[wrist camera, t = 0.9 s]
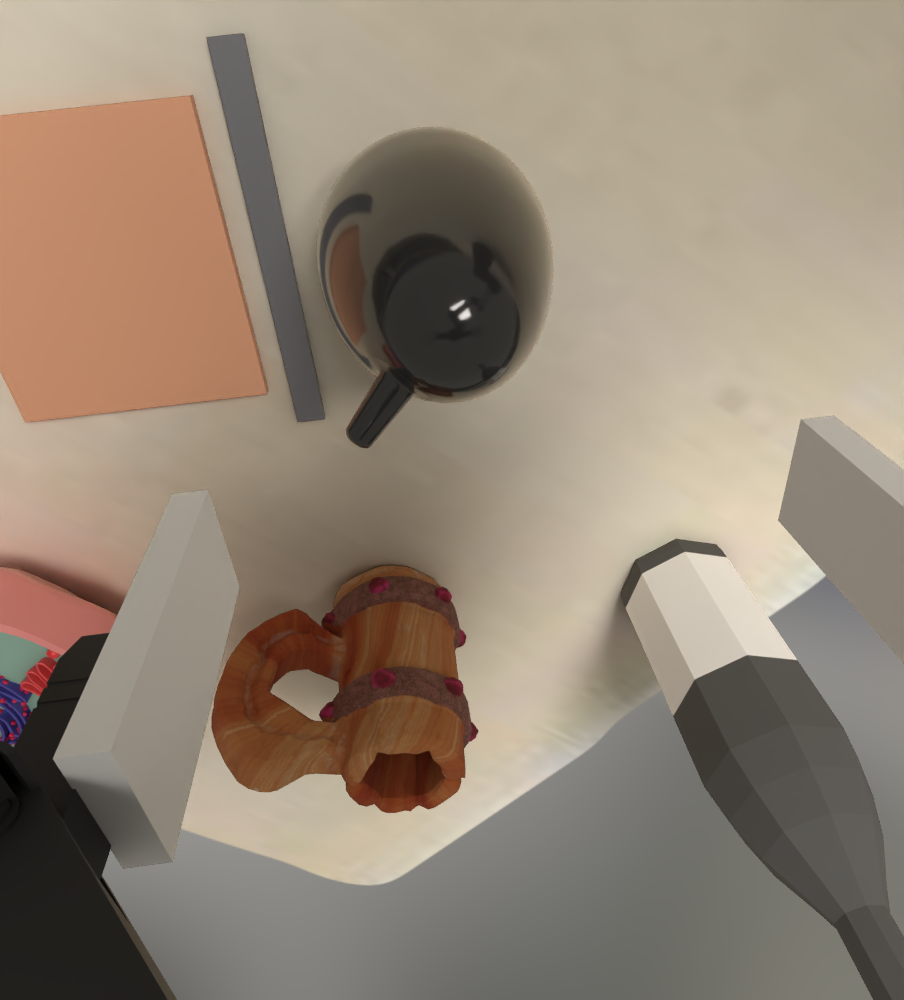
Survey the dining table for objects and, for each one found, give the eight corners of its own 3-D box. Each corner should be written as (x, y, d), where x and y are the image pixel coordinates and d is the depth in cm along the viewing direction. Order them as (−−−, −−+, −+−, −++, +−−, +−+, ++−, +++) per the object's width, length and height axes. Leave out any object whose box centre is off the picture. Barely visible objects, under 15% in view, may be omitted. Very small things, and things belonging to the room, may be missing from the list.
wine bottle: (755, 566, 48) (1159, 1123, 23) (674, 639, 52) (952, 1194, 27) (676, 517, 45) (1042, 1097, 20) (595, 597, 48) (825, 1181, 24)
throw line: (243, 33, 29) (242, 33, 29) (325, 416, 39) (324, 419, 39) (208, 37, 29) (206, 37, 28) (298, 419, 39) (298, 422, 39)
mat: (192, 95, 30) (189, 96, 29) (268, 389, 38) (266, 394, 37) (-110, 127, 30) (-118, 128, 29) (29, 417, 37) (25, 422, 37)
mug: (480, 565, 46) (518, 758, 33) (441, 649, 50) (463, 850, 37) (258, 517, 42) (208, 715, 30) (236, 613, 46) (184, 822, 34)
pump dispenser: (278, 249, 34) (219, 370, 21) (416, 64, 30) (444, 76, 17) (433, 374, 38) (461, 536, 25) (570, 226, 34) (682, 329, 22)
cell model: (159, 737, 53) (111, 888, 43) (-145, 666, 46) (-279, 826, 37) (231, 581, 45) (192, 724, 36) (-121, 470, 38) (-282, 608, 29)
